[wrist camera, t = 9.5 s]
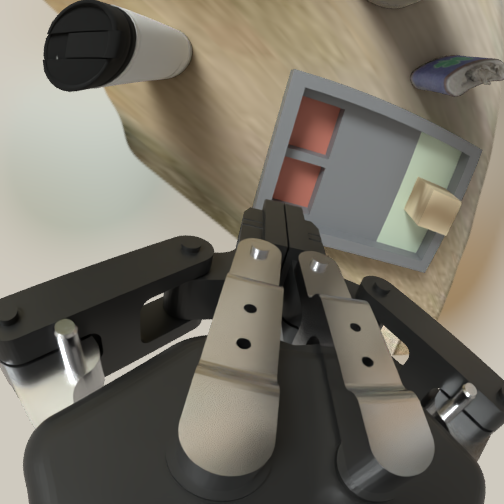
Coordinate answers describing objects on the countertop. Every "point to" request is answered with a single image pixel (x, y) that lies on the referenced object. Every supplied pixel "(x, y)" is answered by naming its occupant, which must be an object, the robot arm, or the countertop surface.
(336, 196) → the tray
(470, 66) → the flask
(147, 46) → the travel mug
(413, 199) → the maple cube
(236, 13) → the countertop surface
